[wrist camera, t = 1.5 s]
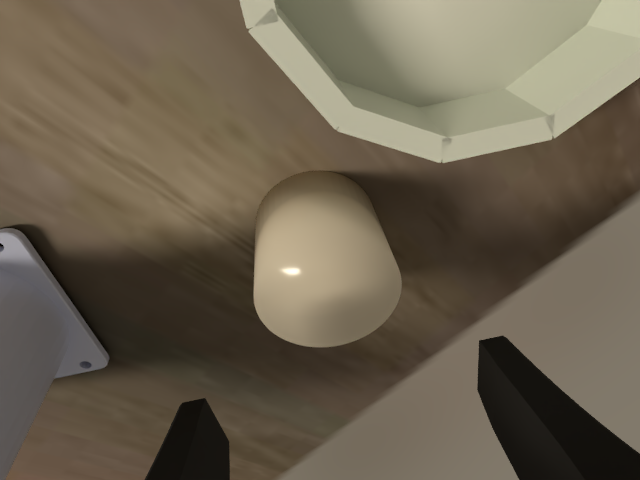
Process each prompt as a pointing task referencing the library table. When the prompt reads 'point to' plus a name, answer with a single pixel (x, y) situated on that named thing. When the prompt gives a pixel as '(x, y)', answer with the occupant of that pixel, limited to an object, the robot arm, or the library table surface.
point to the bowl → (452, 66)
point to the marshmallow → (322, 262)
